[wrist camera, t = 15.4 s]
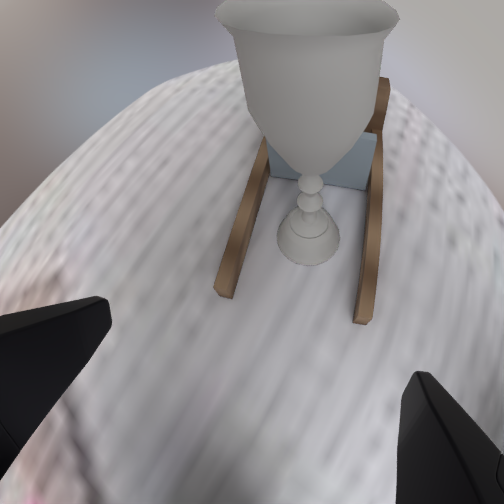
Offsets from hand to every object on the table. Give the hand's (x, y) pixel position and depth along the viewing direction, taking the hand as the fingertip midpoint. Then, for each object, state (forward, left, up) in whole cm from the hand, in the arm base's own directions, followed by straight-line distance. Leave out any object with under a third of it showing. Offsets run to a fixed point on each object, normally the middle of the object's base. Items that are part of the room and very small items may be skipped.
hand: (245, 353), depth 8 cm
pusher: (+8, +15, -13) cm, 21 cm away
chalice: (+5, +10, -14) cm, 18 cm away
